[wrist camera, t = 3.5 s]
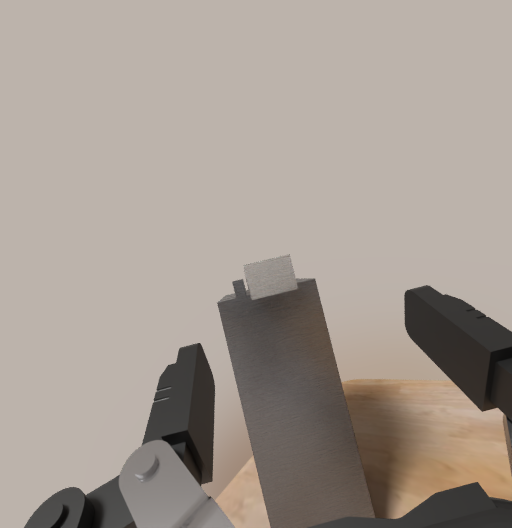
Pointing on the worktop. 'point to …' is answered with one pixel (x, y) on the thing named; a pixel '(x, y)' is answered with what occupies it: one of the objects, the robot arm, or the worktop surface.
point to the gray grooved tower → (294, 407)
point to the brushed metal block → (270, 277)
